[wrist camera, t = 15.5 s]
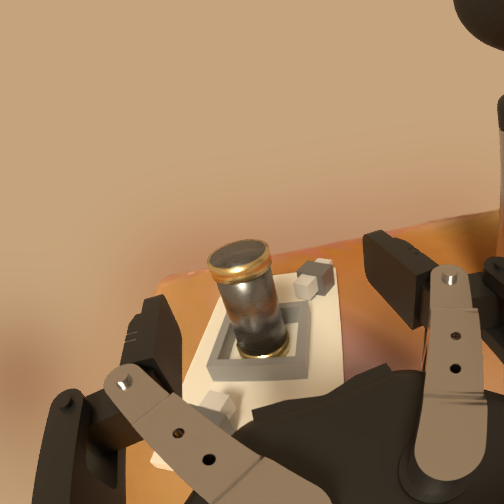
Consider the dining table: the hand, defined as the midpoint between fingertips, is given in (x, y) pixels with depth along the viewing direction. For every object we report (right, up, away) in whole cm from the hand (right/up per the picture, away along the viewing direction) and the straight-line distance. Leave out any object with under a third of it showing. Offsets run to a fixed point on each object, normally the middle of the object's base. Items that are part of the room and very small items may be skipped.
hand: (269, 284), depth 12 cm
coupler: (+1, -8, +17) cm, 18 cm away
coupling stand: (+1, -8, +17) cm, 19 cm away
